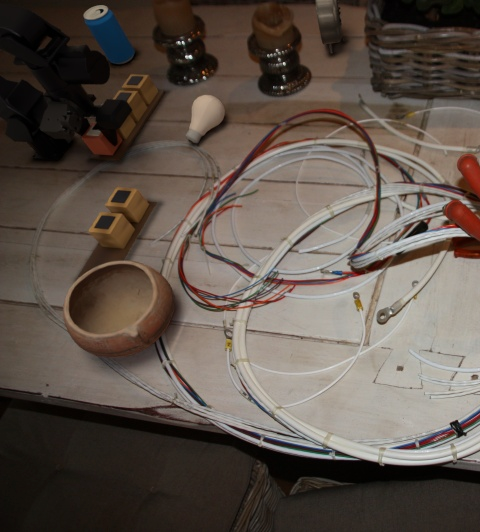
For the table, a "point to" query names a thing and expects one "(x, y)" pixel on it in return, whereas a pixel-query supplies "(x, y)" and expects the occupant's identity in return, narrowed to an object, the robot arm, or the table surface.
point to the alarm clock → (329, 21)
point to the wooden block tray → (118, 226)
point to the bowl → (118, 308)
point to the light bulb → (204, 116)
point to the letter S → (99, 142)
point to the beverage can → (109, 34)
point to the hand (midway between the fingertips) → (105, 144)
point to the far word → (134, 112)
